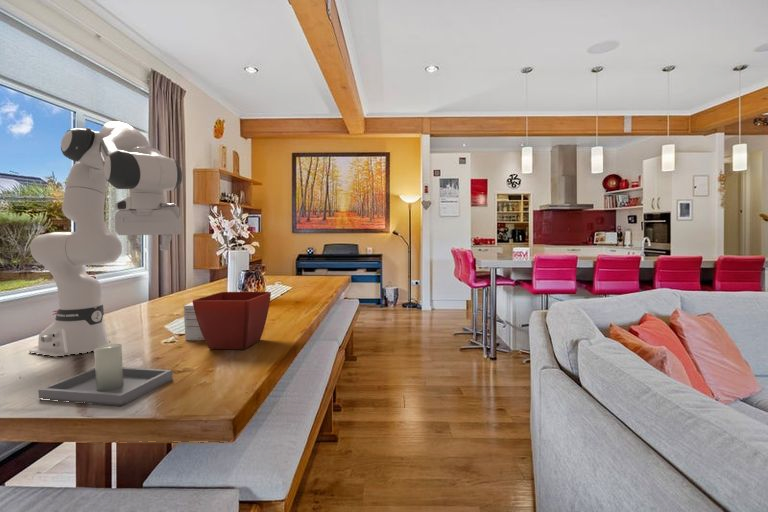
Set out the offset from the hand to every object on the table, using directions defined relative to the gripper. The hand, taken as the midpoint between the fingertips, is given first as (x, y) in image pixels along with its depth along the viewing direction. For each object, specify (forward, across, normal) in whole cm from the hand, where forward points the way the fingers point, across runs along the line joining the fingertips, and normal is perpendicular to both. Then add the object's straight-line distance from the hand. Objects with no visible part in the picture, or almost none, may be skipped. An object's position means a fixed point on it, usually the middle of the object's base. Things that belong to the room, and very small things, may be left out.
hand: (150, 250), depth 117 cm
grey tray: (+33, -6, +22) cm, 40 cm away
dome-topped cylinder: (+33, -6, +22) cm, 40 cm away
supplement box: (+33, +2, -24) cm, 41 cm away
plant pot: (+33, -16, -18) cm, 41 cm away
